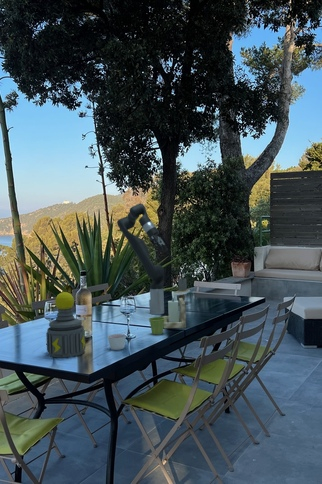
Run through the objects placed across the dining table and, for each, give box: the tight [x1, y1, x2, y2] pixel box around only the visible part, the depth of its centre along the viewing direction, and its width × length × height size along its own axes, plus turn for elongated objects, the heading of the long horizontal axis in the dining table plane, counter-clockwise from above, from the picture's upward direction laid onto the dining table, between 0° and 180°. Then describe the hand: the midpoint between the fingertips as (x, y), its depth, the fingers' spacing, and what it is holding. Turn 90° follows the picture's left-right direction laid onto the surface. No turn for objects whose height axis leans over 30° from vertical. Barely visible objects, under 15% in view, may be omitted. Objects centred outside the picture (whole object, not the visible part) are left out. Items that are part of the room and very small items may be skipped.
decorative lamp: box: [45, 291, 86, 359], centre depth 240 cm, size 19×19×30 cm
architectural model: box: [172, 277, 191, 307], centre depth 374 cm, size 38×25×20 cm, turn 164°
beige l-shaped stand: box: [162, 298, 187, 329], centre depth 302 cm, size 13×23×14 cm, turn 2°
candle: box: [107, 333, 127, 351], centre depth 247 cm, size 9×9×6 cm
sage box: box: [167, 297, 180, 323], centre depth 302 cm, size 6×5×16 cm
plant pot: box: [148, 316, 165, 336], centre depth 277 cm, size 9×9×9 cm
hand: (164, 250), depth 313 cm, fingers open, 8 cm apart
